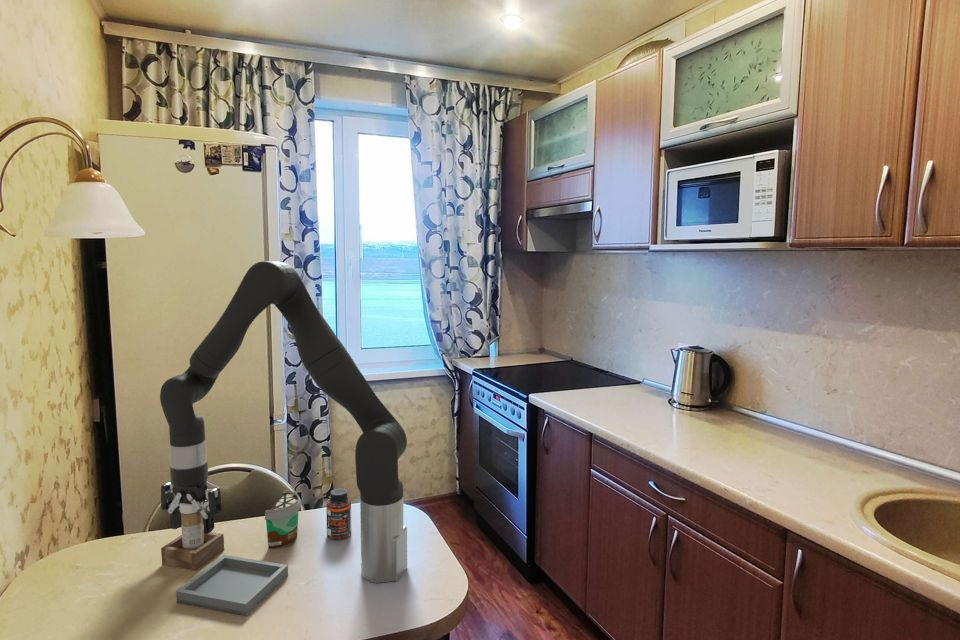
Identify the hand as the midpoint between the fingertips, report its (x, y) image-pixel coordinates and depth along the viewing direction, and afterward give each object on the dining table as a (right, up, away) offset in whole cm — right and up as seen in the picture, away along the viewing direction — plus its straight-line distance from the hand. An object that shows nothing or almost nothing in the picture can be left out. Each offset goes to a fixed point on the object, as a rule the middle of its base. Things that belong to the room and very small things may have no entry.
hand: (192, 529), depth 127 cm
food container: (+19, -6, +9) cm, 22 cm away
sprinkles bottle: (0, -7, +1) cm, 7 cm away
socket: (0, -7, +1) cm, 7 cm away
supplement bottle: (+31, -6, +12) cm, 33 cm away
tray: (+14, -8, -11) cm, 20 cm away
